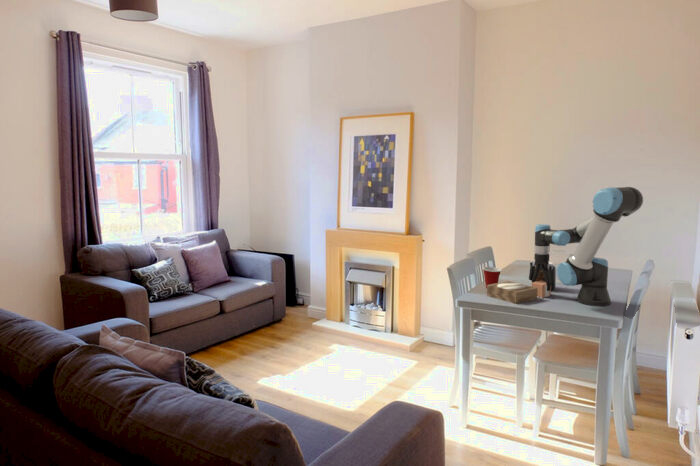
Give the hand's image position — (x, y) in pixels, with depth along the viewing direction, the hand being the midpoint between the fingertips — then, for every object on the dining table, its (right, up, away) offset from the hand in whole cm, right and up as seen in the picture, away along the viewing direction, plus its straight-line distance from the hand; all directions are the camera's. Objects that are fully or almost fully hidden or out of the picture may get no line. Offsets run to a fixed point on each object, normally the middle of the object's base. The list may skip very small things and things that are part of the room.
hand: (540, 294), depth 265 cm
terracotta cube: (0, 0, 0) cm, 0 cm away
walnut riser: (-17, -1, -3) cm, 17 cm away
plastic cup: (-22, +1, +17) cm, 28 cm away
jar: (+8, +2, +15) cm, 17 cm away
